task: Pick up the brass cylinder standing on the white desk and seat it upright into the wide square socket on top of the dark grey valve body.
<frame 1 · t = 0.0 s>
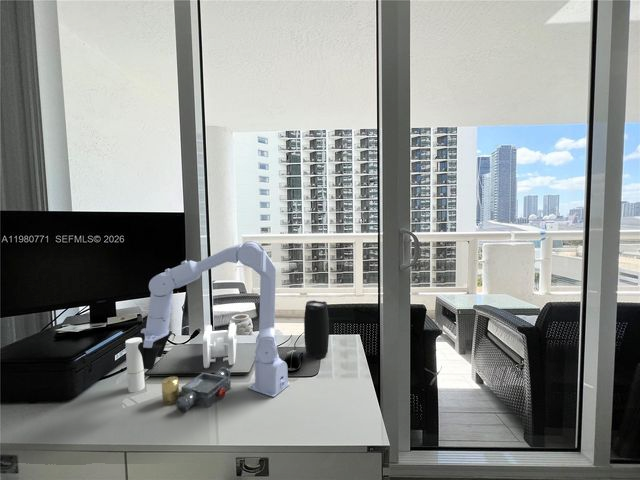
hand: (153, 362, 90), 11 cm above the table, tool pointing down, fingers open, 7 cm apart
cable organizer: (221, 360, 115), on the table
brass cylinder: (171, 400, 90), on the table
valve body: (205, 394, 93), on the table
tube: (136, 389, 96), on the table
portable speaker: (316, 355, 118), on the table
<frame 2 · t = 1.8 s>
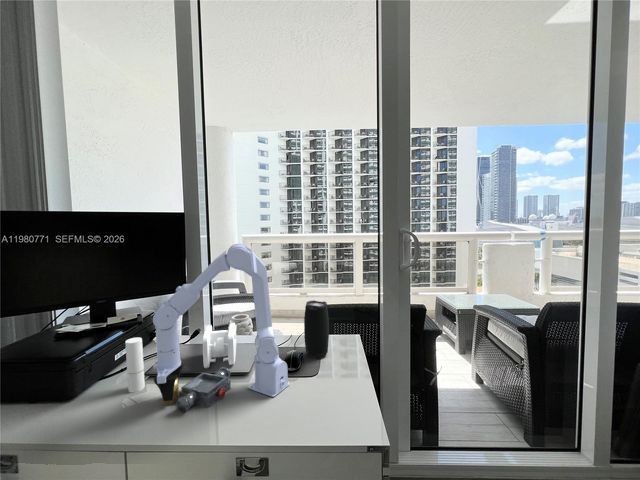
hand: (170, 395, 89), 2 cm above the table, tool pointing down, fingers closed on brass cylinder, 4 cm apart
brass cylinder: (171, 400, 90), on the table, touching gripper
everything else where it was.
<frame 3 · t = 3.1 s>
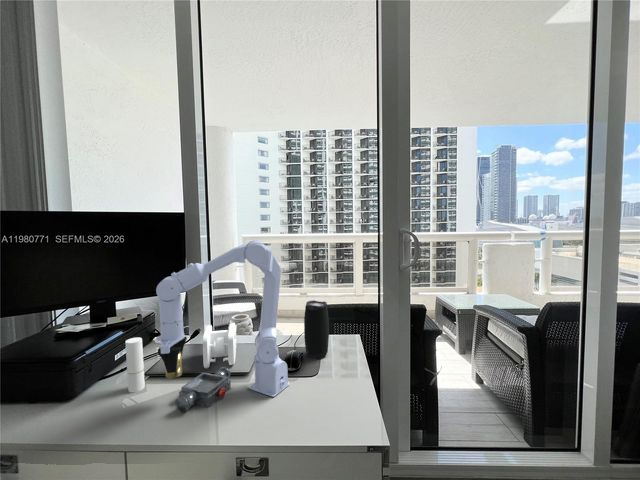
hand: (174, 367, 89), 9 cm above the table, tool pointing down, fingers closed on brass cylinder, 4 cm apart
brass cylinder: (174, 374, 89), point 7 cm above the table, touching gripper
everything else where it was.
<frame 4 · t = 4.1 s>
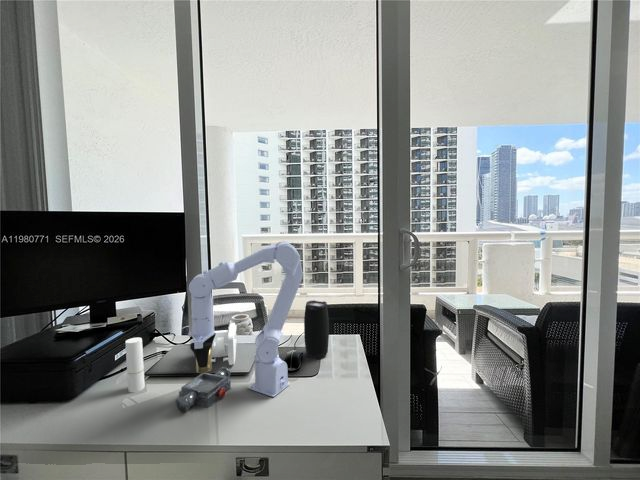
hand: (204, 362, 92), 9 cm above the table, tool pointing down, fingers closed on brass cylinder, 4 cm apart
brass cylinder: (204, 369, 92), point 7 cm above the table, touching gripper
everything else where it was.
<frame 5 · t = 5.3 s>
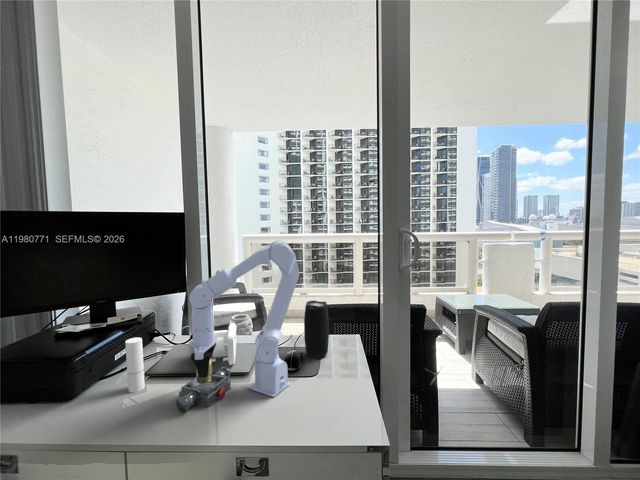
hand: (205, 373, 92), 6 cm above the table, tool pointing down, fingers closed on brass cylinder, 4 cm apart
brass cylinder: (204, 379, 92), point 4 cm above the table, touching gripper
everything else where it was.
when the fingers open (5 cm above the table, at t = 6.3 s): brass cylinder stays where it is, resting on valve body.
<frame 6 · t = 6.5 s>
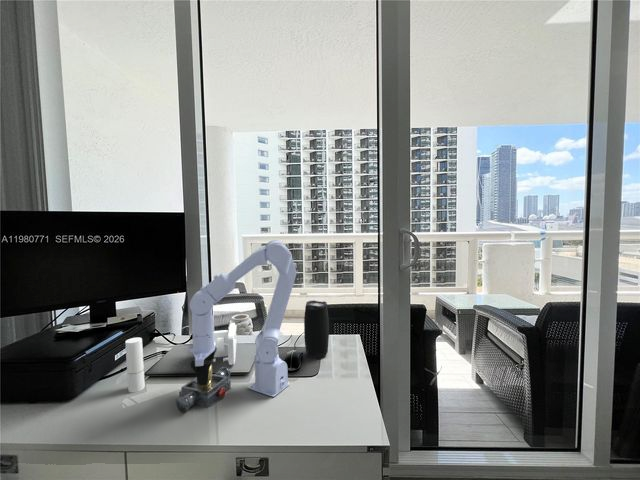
hand: (205, 379, 92), 5 cm above the table, tool pointing down, fingers open, 6 cm apart
brass cylinder: (205, 386, 92), point 3 cm above the table, touching valve body
everything else where it was.
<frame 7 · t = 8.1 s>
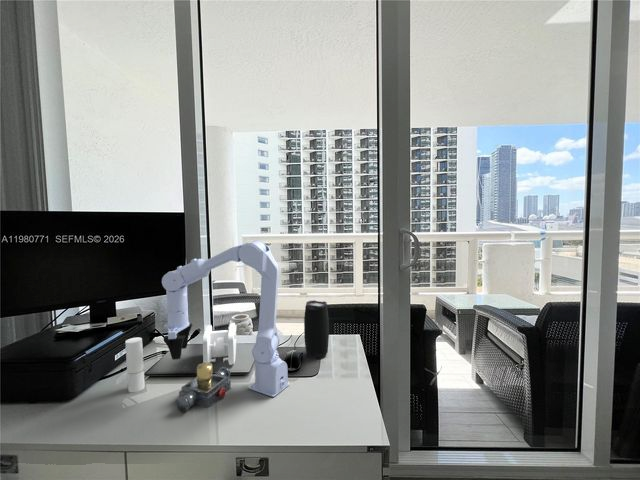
hand: (179, 353, 97), 10 cm above the table, tool pointing down, fingers open, 7 cm apart
nothing on the table moved.
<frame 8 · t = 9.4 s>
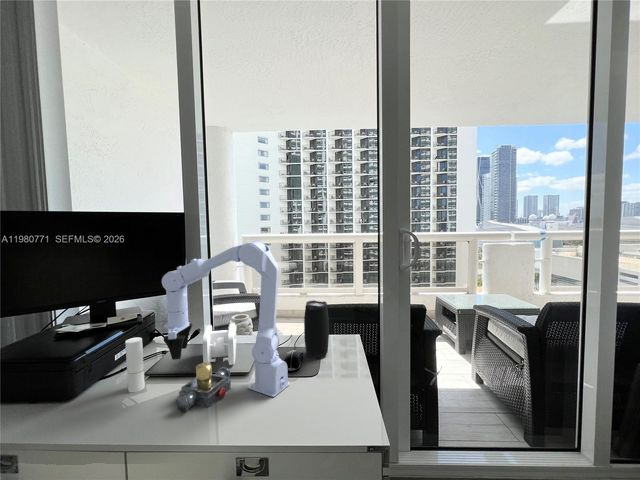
hand: (179, 353, 97), 10 cm above the table, tool pointing down, fingers open, 7 cm apart
nothing on the table moved.
at the end: brass cylinder 0.1 cm off-centre on the valve body, point 2.6 cm above the valve body's base; brass cylinder tilted 2°; the gripper is holding nothing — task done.
